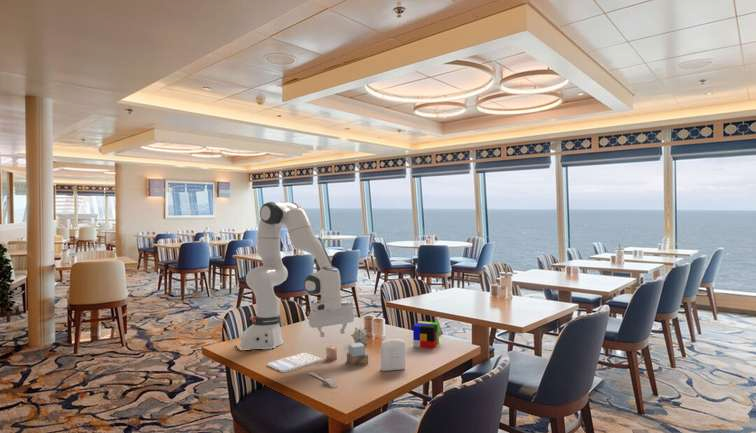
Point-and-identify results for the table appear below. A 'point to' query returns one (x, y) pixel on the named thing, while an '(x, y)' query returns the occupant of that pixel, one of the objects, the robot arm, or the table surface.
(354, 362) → the walnut block
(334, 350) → the terracotta capsule
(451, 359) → the table surface
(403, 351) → the photo printer
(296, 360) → the calculator
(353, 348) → the blue-grey cube
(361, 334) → the game die
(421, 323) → the puzzle toy
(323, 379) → the fork
